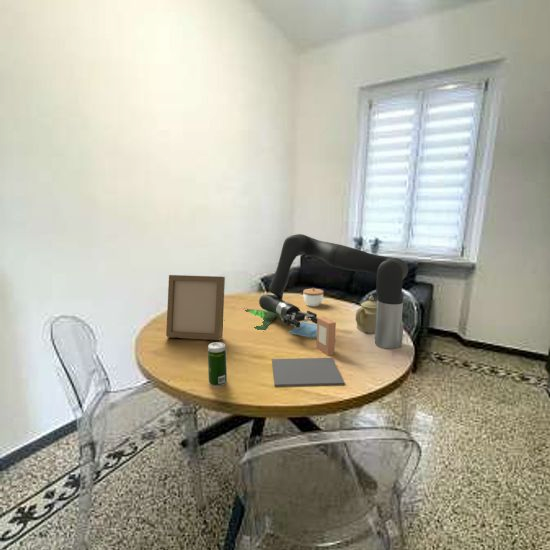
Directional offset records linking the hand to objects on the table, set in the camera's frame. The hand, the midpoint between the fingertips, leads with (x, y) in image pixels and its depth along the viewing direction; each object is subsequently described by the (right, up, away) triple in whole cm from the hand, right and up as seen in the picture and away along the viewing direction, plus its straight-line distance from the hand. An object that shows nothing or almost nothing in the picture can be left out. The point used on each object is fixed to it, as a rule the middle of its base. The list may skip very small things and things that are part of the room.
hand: (308, 323), depth 135 cm
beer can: (-30, -14, -31) cm, 45 cm away
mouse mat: (-25, -2, +26) cm, 36 cm away
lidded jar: (+7, +3, +49) cm, 49 cm away
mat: (-3, -12, -24) cm, 27 cm away
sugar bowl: (+27, -5, +13) cm, 30 cm away
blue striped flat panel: (+1, -5, +12) cm, 14 cm away
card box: (+5, -9, -8) cm, 13 cm away
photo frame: (-45, -6, +8) cm, 46 cm away
